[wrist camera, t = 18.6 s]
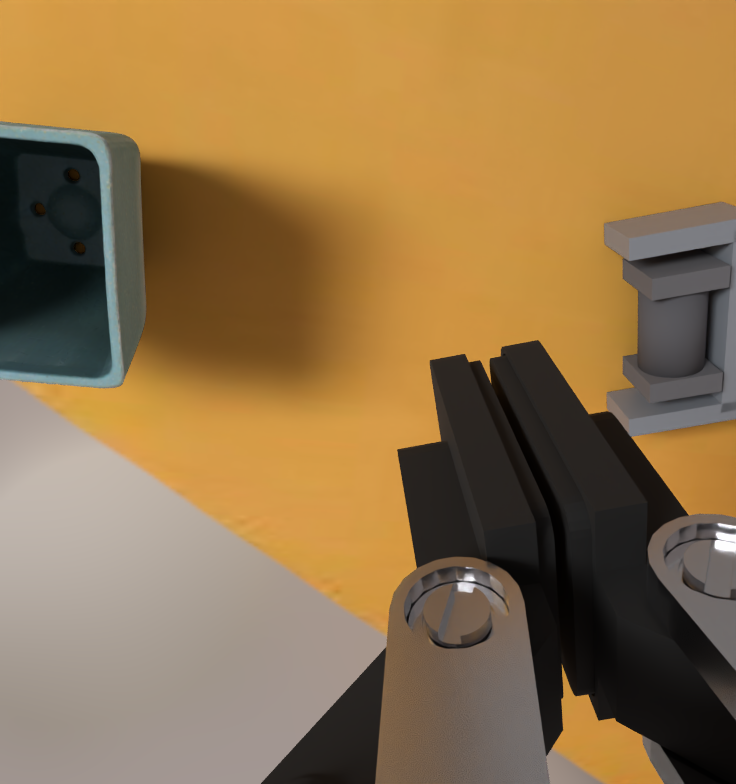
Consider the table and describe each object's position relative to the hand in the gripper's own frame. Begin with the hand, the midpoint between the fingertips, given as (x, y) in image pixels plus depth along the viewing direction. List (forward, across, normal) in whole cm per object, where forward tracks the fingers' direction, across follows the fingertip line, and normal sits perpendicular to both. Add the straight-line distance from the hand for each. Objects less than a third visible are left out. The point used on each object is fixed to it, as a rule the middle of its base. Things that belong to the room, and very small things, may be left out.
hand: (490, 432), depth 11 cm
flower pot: (+22, +14, -1) cm, 26 cm away
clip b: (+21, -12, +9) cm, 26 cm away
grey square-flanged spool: (+22, -12, +9) cm, 26 cm away
